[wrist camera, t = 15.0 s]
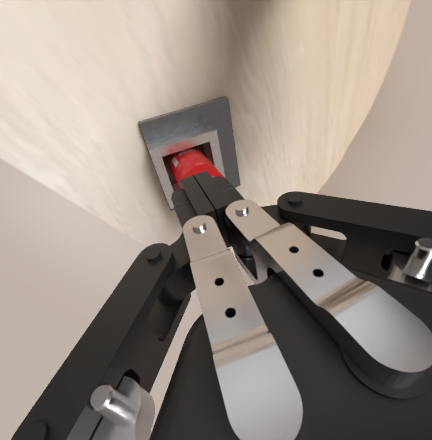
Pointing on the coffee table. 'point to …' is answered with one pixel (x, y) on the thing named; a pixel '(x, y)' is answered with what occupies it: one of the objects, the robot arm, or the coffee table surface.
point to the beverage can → (190, 164)
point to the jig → (193, 139)
